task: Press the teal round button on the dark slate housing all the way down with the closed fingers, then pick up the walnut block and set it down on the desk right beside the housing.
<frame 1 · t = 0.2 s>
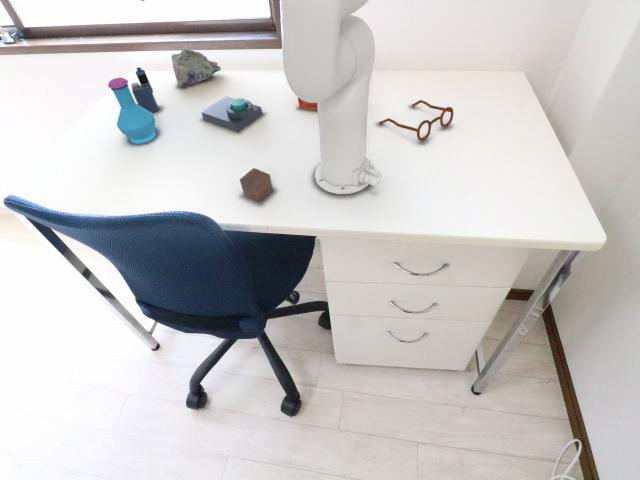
block: (258, 193, 81), on the table
mineral rock: (199, 81, 119), on the table
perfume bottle: (143, 137, 99), on the table
housing: (233, 116, 103), on the table
vaping device: (151, 111, 108), on the table
drink carton: (329, 105, 104), on the table
glasses: (415, 124, 95), on the table
button: (238, 104, 98), point 4 cm above the table, slide at 0.1 cm
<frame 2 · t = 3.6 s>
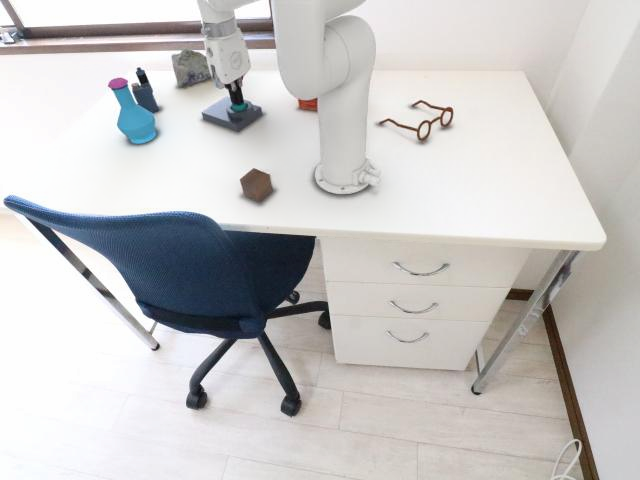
hand: (237, 102, 98), 5 cm above the table, tool pointing down, fingers closed
button: (239, 106, 98), point 4 cm above the table, slide at -0.2 cm, touching gripper
everything else where it was.
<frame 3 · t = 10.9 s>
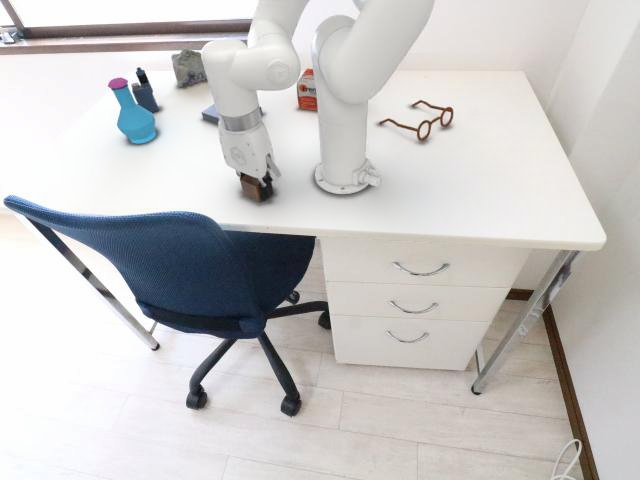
hand: (258, 191, 80), 0 cm above the table, tool pointing down, fingers closed on block, 4 cm apart
block: (258, 193, 81), on the table, touching gripper
button: (238, 104, 98), point 4 cm above the table, slide at 0.1 cm
everything else where it was.
when the fingers open (0 cm above the table, at t = 18.5 s): block stays where it is, on the table.
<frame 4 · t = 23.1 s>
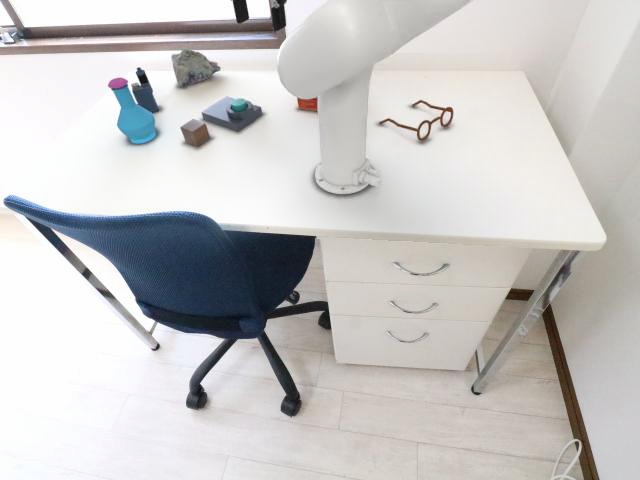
hand: (261, 24, 75), 26 cm above the table, tool pointing down, fingers open, 9 cm apart
block: (198, 140, 96), on the table
everything else where it was.
at the end: button pushed in 1.1 cm at the most during the clip, back to where it started at the end; button slide at 0.1 cm; block 0.1 cm from the target spot on the table beside the housing, on the table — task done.
